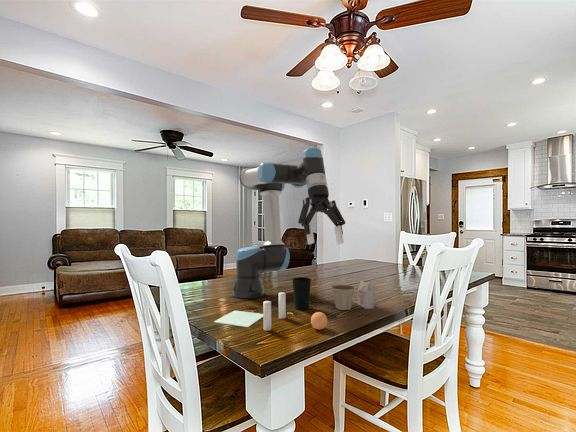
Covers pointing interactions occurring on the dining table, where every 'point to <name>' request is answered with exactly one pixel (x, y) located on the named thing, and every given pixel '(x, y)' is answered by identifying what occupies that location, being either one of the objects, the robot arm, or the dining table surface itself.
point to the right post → (282, 305)
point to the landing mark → (240, 318)
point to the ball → (319, 320)
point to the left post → (267, 315)
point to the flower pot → (343, 296)
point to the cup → (301, 292)
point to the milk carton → (365, 296)
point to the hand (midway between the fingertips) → (326, 243)
